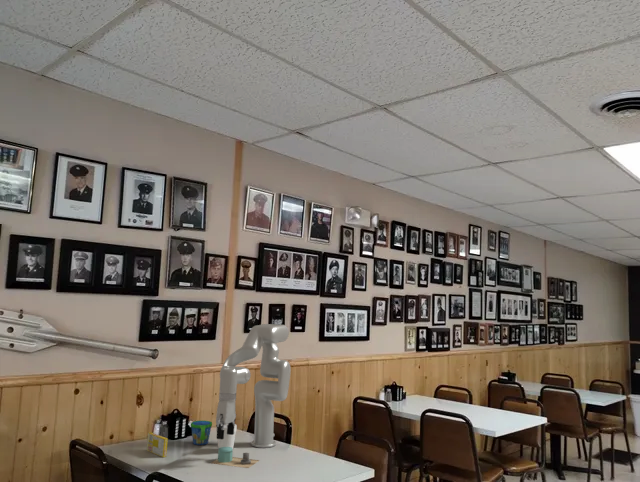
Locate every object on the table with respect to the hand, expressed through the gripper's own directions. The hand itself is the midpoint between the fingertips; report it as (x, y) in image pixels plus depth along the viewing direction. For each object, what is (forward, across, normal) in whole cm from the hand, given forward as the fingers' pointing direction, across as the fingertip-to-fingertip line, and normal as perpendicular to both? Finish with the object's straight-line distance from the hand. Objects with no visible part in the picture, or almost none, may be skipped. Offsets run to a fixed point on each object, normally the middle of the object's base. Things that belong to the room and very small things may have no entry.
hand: (225, 436), depth 232 cm
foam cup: (+12, -15, -7) cm, 20 cm away
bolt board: (+12, -1, +5) cm, 13 cm away
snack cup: (+11, -27, -27) cm, 40 cm away
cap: (+10, -1, 0) cm, 10 cm away
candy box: (+12, -4, -37) cm, 39 cm away
